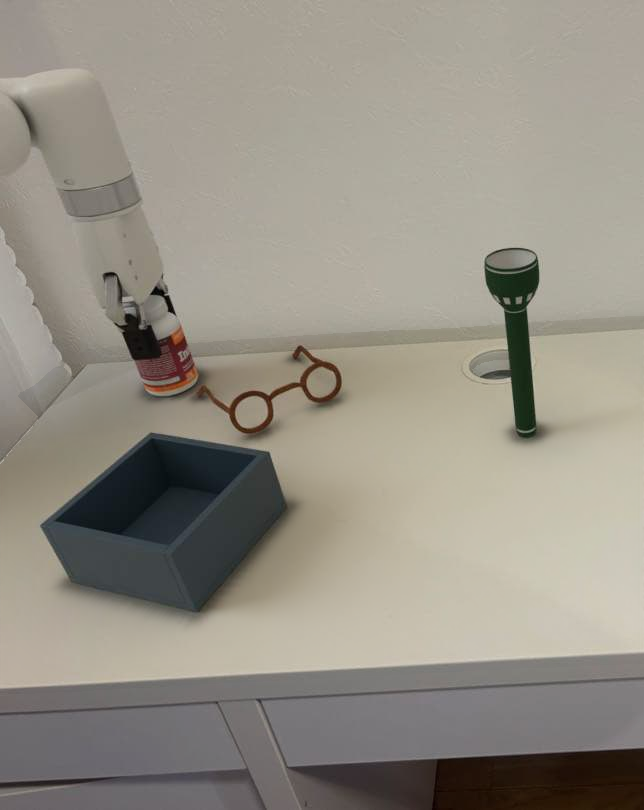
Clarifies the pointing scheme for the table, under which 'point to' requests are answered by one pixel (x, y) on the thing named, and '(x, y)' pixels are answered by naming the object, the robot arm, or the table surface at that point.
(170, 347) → the pill bottle
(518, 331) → the flashlight
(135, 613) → the table surface
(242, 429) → the glasses
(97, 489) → the bin
